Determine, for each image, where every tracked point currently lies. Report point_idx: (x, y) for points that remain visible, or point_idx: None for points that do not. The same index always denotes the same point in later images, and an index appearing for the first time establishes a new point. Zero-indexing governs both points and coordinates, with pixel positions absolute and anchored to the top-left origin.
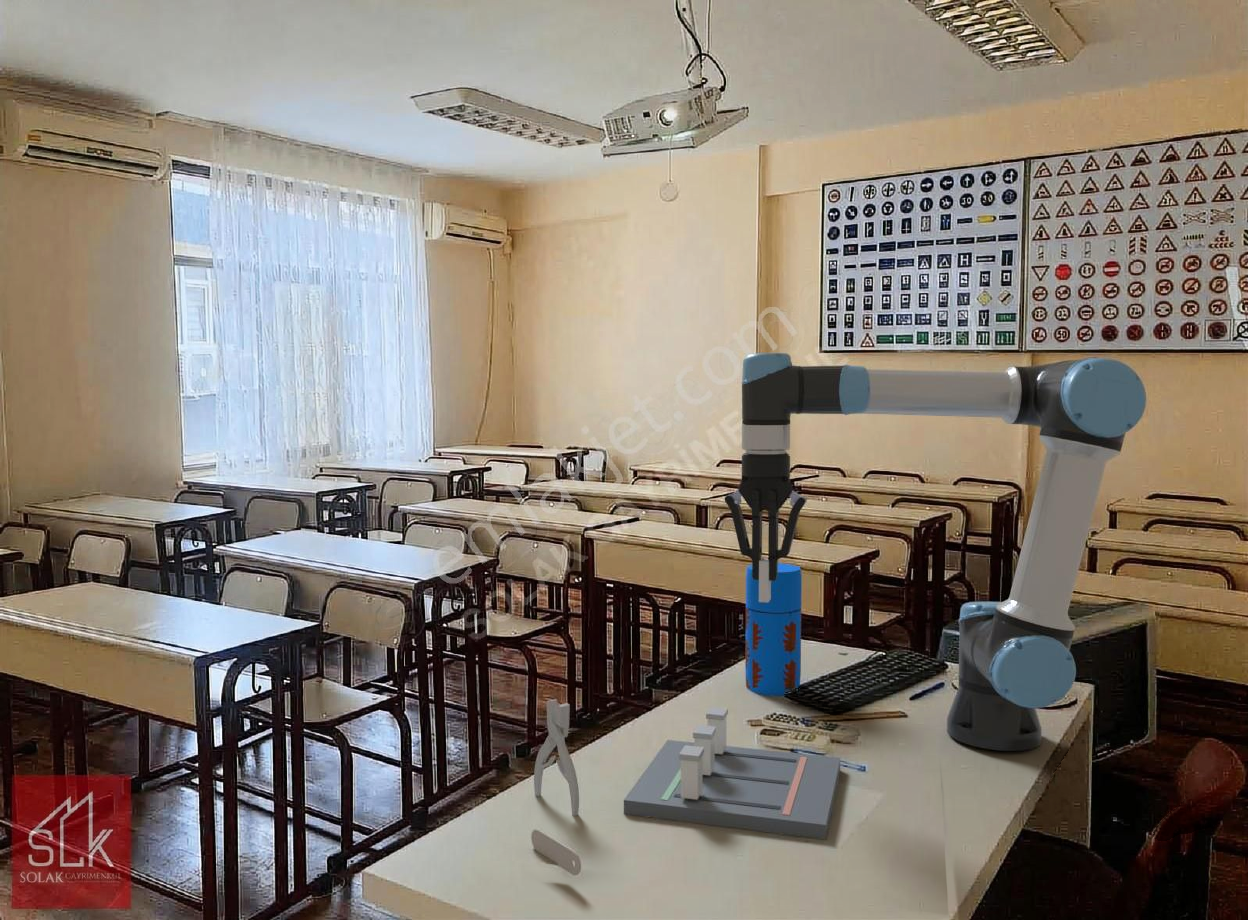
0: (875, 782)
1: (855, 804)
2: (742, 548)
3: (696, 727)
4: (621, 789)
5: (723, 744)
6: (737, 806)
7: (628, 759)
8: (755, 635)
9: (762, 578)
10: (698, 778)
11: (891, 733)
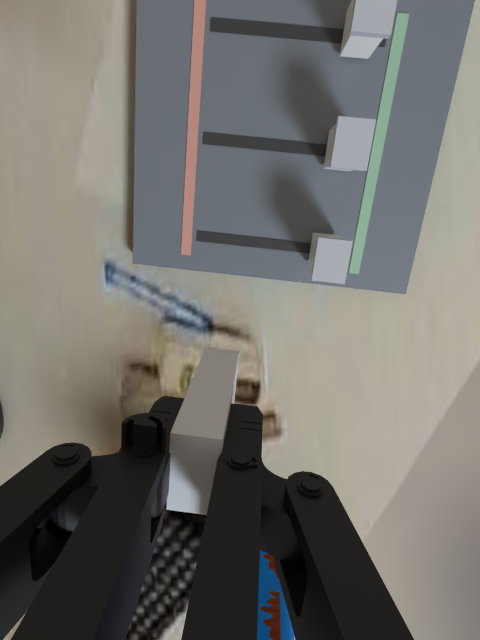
0: (88, 222)
1: (110, 131)
2: (325, 505)
3: (369, 154)
4: (470, 114)
5: (312, 242)
6: (278, 14)
7: (462, 246)
8: (274, 616)
9: (215, 390)
10: (351, 5)
11: (78, 410)
